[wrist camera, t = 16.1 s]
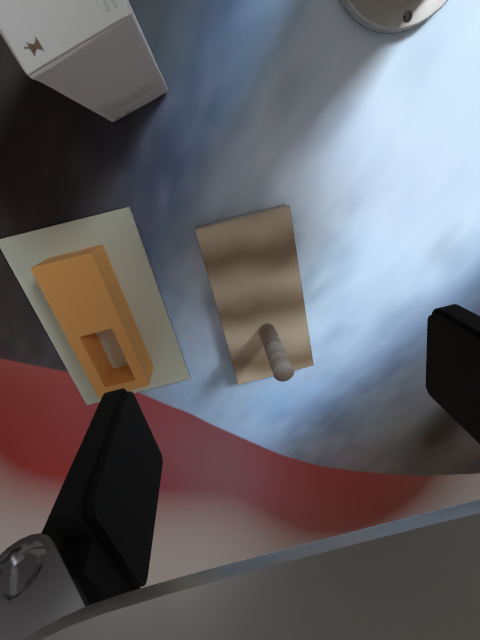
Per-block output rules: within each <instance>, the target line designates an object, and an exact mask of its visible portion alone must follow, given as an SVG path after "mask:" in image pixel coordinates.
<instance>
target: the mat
mask: <svg viewBox="0 0 480 640" xmlns="http://www.w3.org/2000/svg"><path fill="white" fill-rule="evenodd" d="M101 244H103V246H104V248H105V251H106V253H107V255H108V258H109V260H110V263H111V265H112V267H113V270H114V272H115V275H116V277H117V280H118V282H119V284H120V287H121V289H122V292H123V294H124V296H125V299H126V301H127V304H128V306H129V308H130V311H131V313H132V316H133V318H134V321H135V323H136V325H137V328H138V330H139V333H140V335H141V337H142V340H143V342H144V345H145V347H146V349H147V352H148V354H149V357H150V359H151V362H152V364H153V366H154V368H153V372H152V376H151V380H150V384H149V386H146V387H142V388H138V389H134V390H130V391H132V392H133V393H137V392H141V391H145V390H148V389H152V388H156V387H160V386H164V385H168V384H172V383H176V382H180V381H184V380H188V379H190V375H189V372H188V369H187V366H186V363H185V361H184V358H183V355H182V352H181V349H180V347H179V344H178V341H177V338H176V335H175V333H174V330H173V327H172V324H171V321H170V319H169V316H168V313H167V310H166V307H165V305H164V302H163V299H162V296H161V293H160V290H159V288H158V285H157V282H156V279H155V276H154V274H153V271H152V268H151V265H150V262H149V260H148V257H147V254H146V251H145V248H144V246H143V243H142V240H141V237H140V234H139V231H138V229H137V226H136V223H135V220H134V217H133V215H132V212H131V209H130V207H126V208H122V209H118V210H114V211H110V212H106V213H102V214H98V215H94V216H90V217H86V218H82V219H78V220H74V221H70V222H67V223H63V224H59V225H55V226H51V227H47V228H43V229H39V230H35V231H31V232H27V233H23V234H19V235H15V236H11V237H7V238H3V239H0V249H1V251H2V252H3V254H4V256H5V258H6V260H7V261H8V263H9V265H10V267H11V269H12V270H13V272H14V274H15V276H16V278H17V280H18V281H19V283H20V285H21V287H22V289H23V290H24V292H25V294H26V296H27V298H28V300H29V301H30V303H31V305H32V307H33V309H34V310H35V312H36V314H37V316H38V318H39V319H40V321H41V323H42V325H43V327H44V329H45V330H46V332H47V334H48V336H49V338H50V339H51V341H52V343H53V345H54V347H55V349H56V350H57V352H58V354H59V356H60V358H61V359H62V361H63V363H64V365H65V367H66V368H67V370H68V372H69V374H70V376H71V378H72V379H73V381H74V383H75V385H76V386H77V388H78V390H79V392H80V394H81V396H82V398H83V399H84V401H85V403H86V405H89V404H93V403H97V402H100V401H101V398H98V396H97V394H96V392H95V390H94V388H93V386H92V384H91V382H90V381H89V379H88V377H87V375H86V373H85V371H84V369H83V367H82V365H81V364H80V362H79V360H78V358H77V356H76V354H75V352H74V350H73V348H72V347H71V345H70V343H69V341H68V339H67V337H66V335H65V333H64V331H63V330H62V328H61V326H60V324H59V322H58V320H57V318H56V316H55V314H54V313H53V311H52V309H51V307H50V305H49V303H48V301H47V299H46V297H45V296H44V294H43V292H42V290H41V288H40V286H39V284H38V282H37V281H36V279H35V277H34V275H33V273H32V271H31V269H30V268H31V267H33V266H35V265H37V264H38V263H40V262H42V261H44V260H46V259H47V258H50V257H54V256H58V255H62V254H66V253H70V252H74V251H78V250H82V249H86V248H89V247H93V246H97V245H101ZM96 333H97V335H98V338H99V340H100V342H101V344H102V346H103V348H104V350H105V352H106V354H107V356H108V358H109V360H110V363H111V365H112V367H113V369H114V368H118V367H122V366H126V365H128V363H127V360H126V358H125V356H124V354H123V352H122V349H121V347H120V345H119V343H118V341H117V338H116V336H115V334H114V332H113V330H112V329H108V330H104V331H100V332H96ZM127 392H129V391H127Z"/></svg>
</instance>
